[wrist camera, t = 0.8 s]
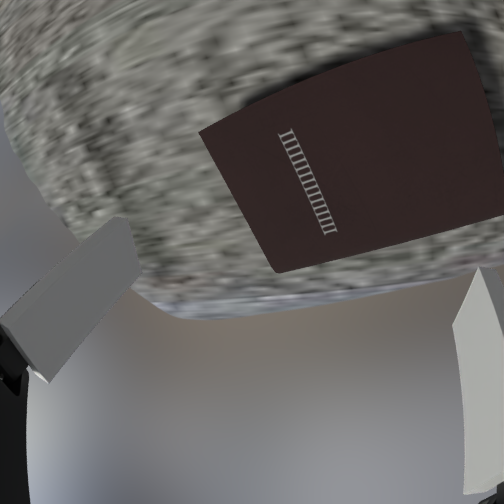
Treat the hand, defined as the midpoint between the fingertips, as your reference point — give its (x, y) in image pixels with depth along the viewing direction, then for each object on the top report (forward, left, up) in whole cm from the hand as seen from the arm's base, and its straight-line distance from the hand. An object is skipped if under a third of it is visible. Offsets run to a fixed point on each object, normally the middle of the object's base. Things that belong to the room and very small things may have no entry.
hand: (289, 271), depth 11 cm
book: (+3, +2, -27) cm, 27 cm away
